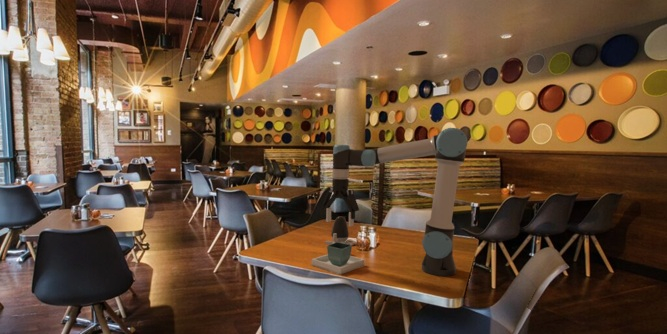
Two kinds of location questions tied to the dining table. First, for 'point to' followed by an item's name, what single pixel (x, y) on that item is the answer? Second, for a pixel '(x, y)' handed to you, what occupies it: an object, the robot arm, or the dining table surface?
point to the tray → (325, 264)
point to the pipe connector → (333, 240)
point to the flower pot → (339, 253)
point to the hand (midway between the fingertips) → (339, 223)
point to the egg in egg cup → (340, 229)
